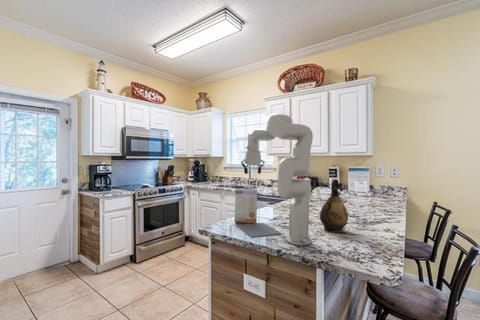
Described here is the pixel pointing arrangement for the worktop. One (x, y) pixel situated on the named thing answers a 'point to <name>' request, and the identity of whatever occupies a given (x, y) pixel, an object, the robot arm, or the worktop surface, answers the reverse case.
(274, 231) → the mat
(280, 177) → the robot arm
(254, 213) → the cracker box
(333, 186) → the ceramic jug
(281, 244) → the worktop surface
